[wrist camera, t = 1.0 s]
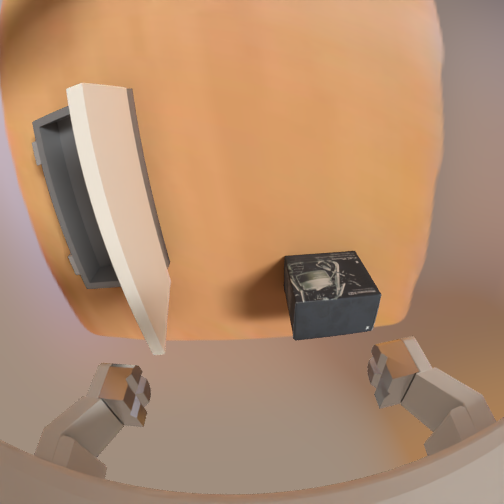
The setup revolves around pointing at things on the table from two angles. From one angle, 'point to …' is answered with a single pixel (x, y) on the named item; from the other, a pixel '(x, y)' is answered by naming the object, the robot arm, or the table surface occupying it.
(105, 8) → the table surface
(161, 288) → the cover
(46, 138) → the trough
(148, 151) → the table surface
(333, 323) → the box
